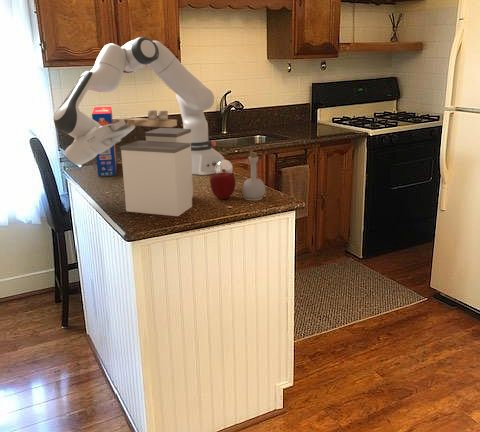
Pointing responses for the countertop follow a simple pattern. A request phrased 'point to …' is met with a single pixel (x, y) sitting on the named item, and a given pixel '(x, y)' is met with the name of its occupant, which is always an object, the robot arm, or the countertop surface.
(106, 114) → the pasta box
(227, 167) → the light bulb
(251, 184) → the potion bottle
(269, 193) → the countertop surface
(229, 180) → the apple
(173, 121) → the serving board
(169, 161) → the counter block
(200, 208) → the countertop surface
